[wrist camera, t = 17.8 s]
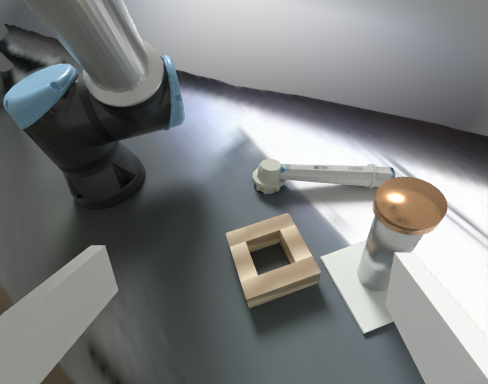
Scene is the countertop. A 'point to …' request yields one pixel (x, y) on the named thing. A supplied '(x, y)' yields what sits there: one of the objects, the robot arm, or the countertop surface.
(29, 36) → the countertop surface
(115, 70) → the robot arm
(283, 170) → the toothbrush head
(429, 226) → the steel plug
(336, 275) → the rubber mat
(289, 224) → the bore block
